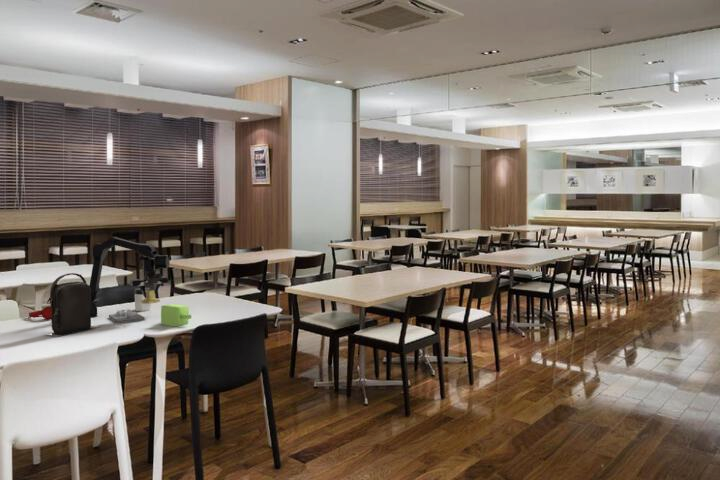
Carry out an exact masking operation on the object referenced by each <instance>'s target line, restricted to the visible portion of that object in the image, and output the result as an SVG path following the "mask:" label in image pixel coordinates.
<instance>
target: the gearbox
mask: <svg viewBox="0 0 720 480" xmlns="http://www.w3.org/2000/svg"><path fill="white" fill-rule="evenodd" d="M160 307H161V308H160V324H161V325H165V326H171V327H180V325H181V326H185V325H187V324H189V319H190V320H191V319H192V314H191V313H190V314H189V310H190V309H189V307H190V306H188V305H182V304H179V303H178V304H177V303H172V304H165V305H161V306H160ZM184 324H185V325H184Z"/></svg>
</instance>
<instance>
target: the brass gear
mask: <svg viewBox="0 0 720 480" xmlns="http://www.w3.org/2000/svg"><path fill="white" fill-rule="evenodd" d="M145 293H146V298H145V299H143V300H141V303H143V304H144V303H148V304H157V303H160V302H161V301H160V300H161V299H160V298H157V297H155V290H154V289H150V290H147V291H145Z"/></svg>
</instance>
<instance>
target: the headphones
mask: <svg viewBox="0 0 720 480" xmlns="http://www.w3.org/2000/svg"><path fill="white" fill-rule="evenodd" d="M28 317H29V318H30V319H34V318H43V319H44V320H46V319H51V305H48V306H46V307H44V308H43V309H42V310H35V311H31V312H28ZM31 317H33V318H31Z"/></svg>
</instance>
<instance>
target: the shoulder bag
mask: <svg viewBox="0 0 720 480" xmlns="http://www.w3.org/2000/svg"><path fill="white" fill-rule="evenodd" d="M72 275H73V276H76V277H78V278H80V279H81V281H71V282H64V283H59V284H58V282H59V281H60V280H61V279H63V278H64V277H66V276H72ZM89 285H90V284H88V283H87V281H86V279H85V277H84V276H83V275H82V274H79V273H76V272H75V273H74V272H70V273H65V274H62V275H59V276H58V277H56V279H54V281H53V282H52V283H51V287H50V293H49V297H48V299H47V302H46V304H47V305H50V306H51V320H50V321H51V330H52V332H51V333H52V336H51V337H54V338H57V337H61V336H67V335H70V334H71V335H72V334H77V333H81V332H85V331H90V330H95V329H100V328H101V327H100V326H93V325H92V319H91V318H92V317H91V313H94V301H93V300H92V298H91V289H90V286H89ZM48 336H49V337H50V335H48Z"/></svg>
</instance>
